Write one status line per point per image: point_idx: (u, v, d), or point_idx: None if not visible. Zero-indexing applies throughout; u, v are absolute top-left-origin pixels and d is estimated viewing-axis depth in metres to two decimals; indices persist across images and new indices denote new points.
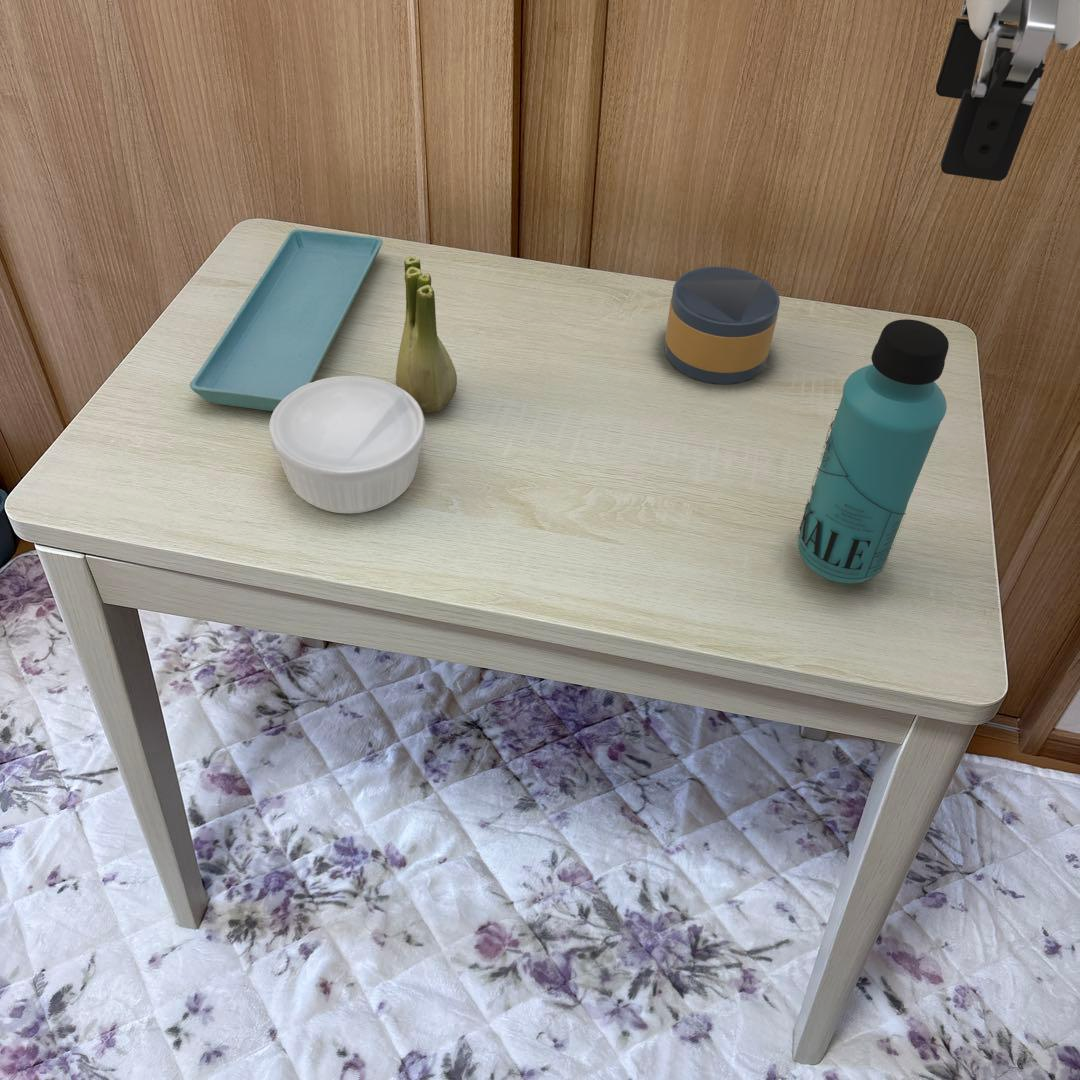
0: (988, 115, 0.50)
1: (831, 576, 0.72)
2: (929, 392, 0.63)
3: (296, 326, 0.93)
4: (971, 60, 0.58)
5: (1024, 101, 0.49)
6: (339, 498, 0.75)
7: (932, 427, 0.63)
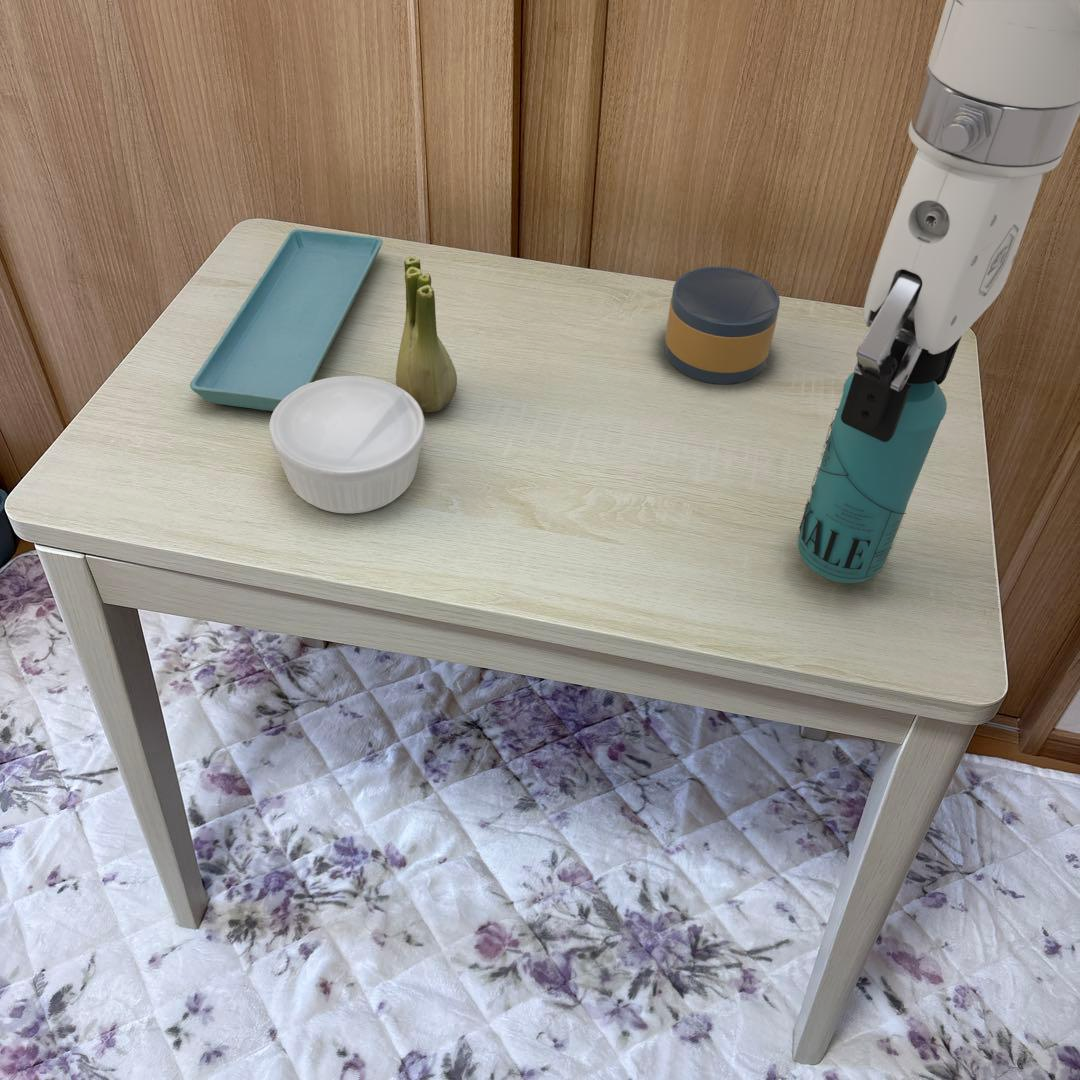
0: (867, 389, 0.60)
1: (831, 576, 0.72)
2: (929, 391, 0.63)
3: (296, 326, 0.93)
4: None
5: (891, 388, 0.59)
6: (339, 498, 0.75)
7: (932, 426, 0.63)
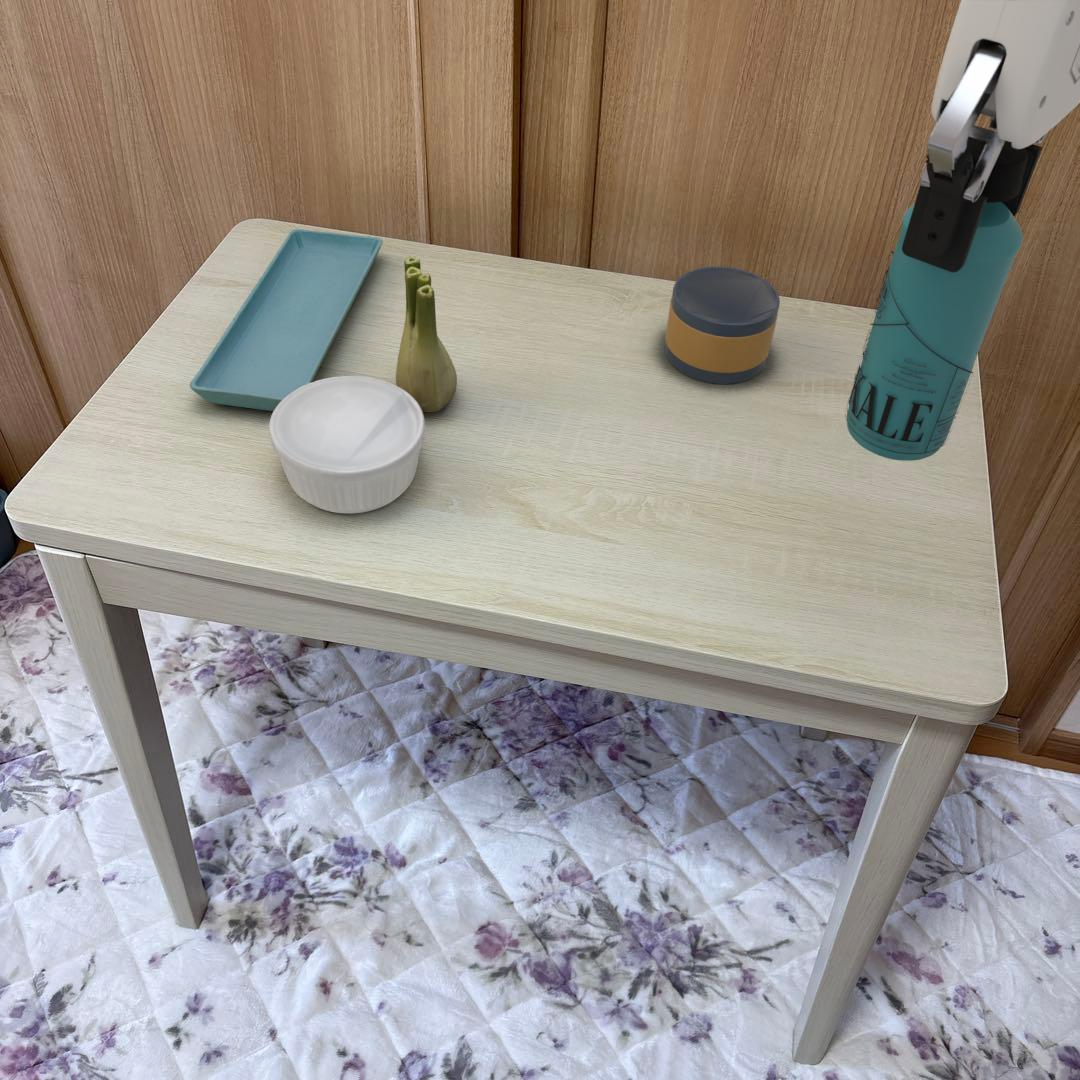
0: (935, 205, 0.52)
1: (886, 452, 0.64)
2: (1003, 217, 0.55)
3: (296, 326, 0.93)
4: None
5: (964, 199, 0.50)
6: (339, 498, 0.75)
7: (1008, 257, 0.55)
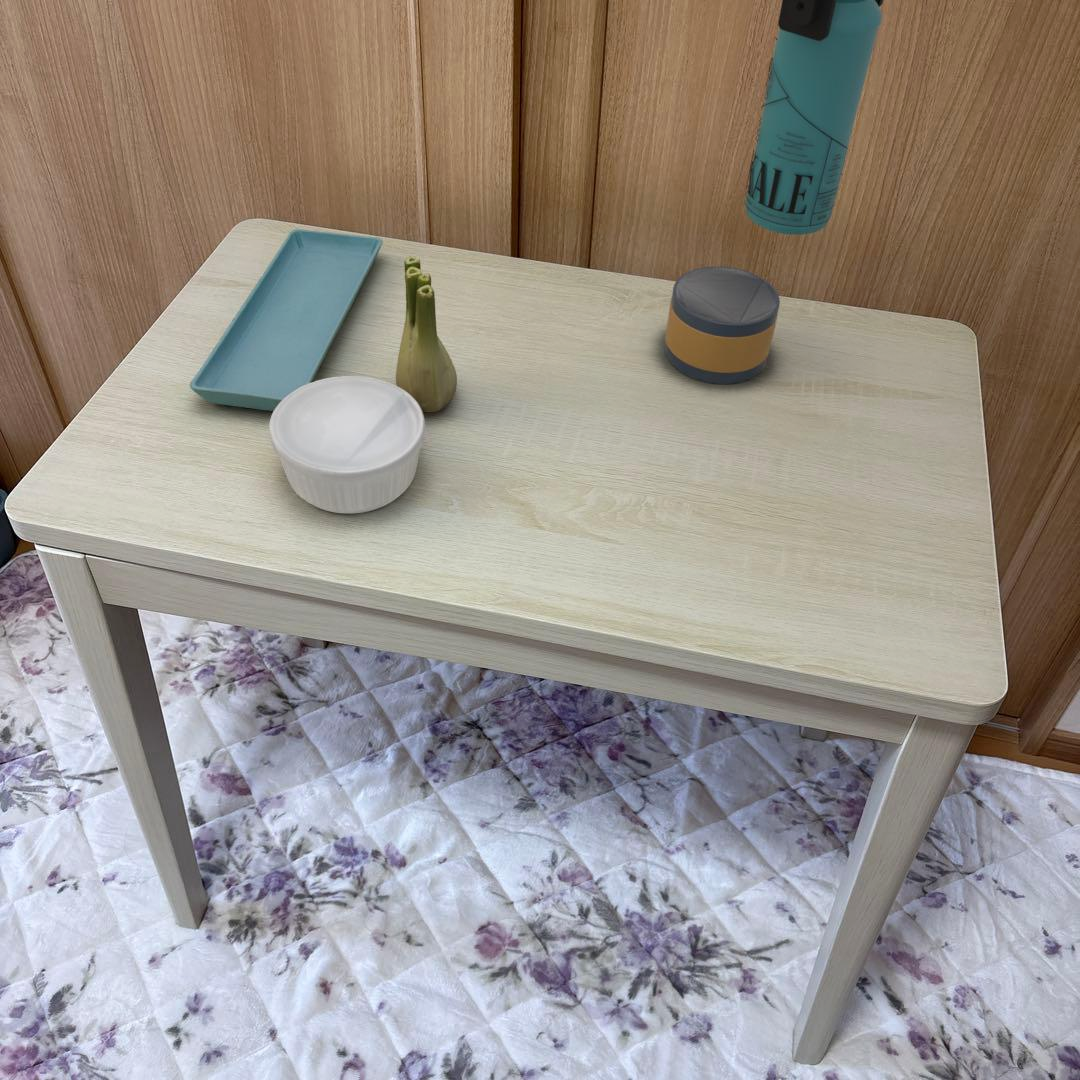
0: None
1: (776, 226, 0.74)
2: None
3: (296, 326, 0.93)
4: None
5: None
6: (339, 498, 0.75)
7: (867, 30, 0.65)
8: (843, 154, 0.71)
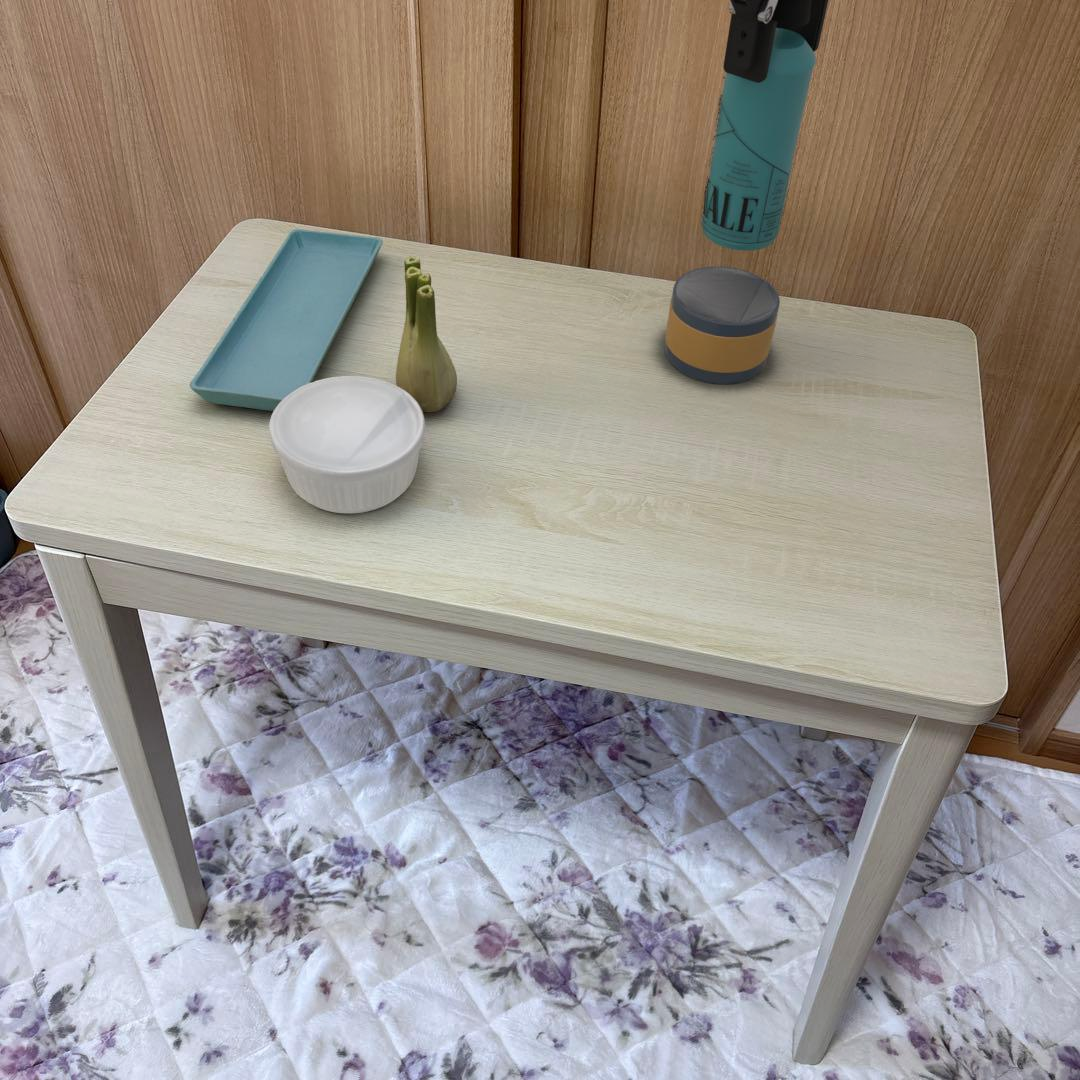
0: (741, 27, 0.71)
1: (728, 243, 0.83)
2: (799, 44, 0.74)
3: (296, 326, 0.93)
4: None
5: (759, 20, 0.69)
6: (339, 498, 0.75)
7: (801, 73, 0.73)
8: (785, 179, 0.80)
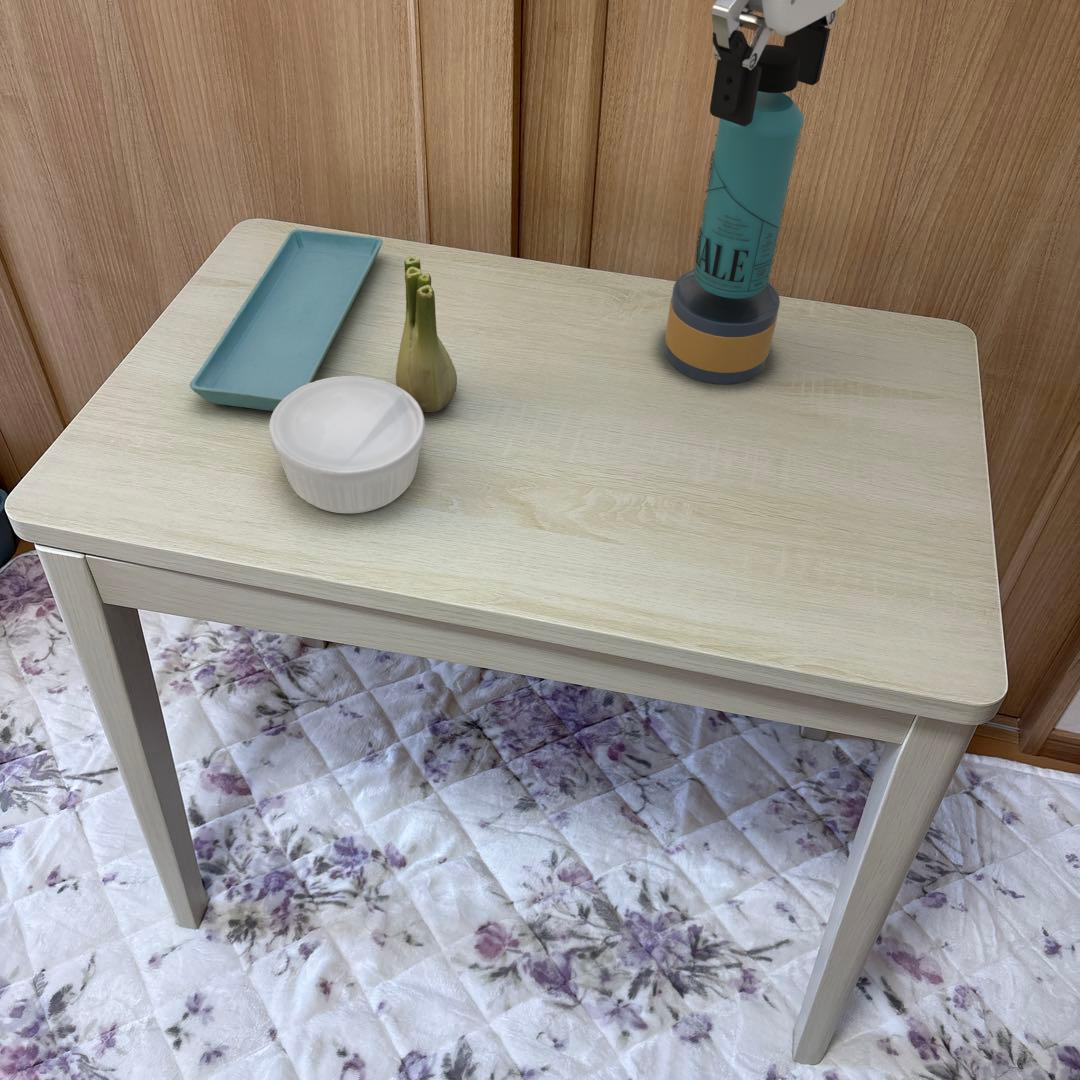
0: (726, 73, 0.72)
1: (720, 291, 0.86)
2: (787, 106, 0.77)
3: (296, 326, 0.93)
4: (798, 50, 0.78)
5: (743, 65, 0.70)
6: (339, 498, 0.75)
7: (789, 134, 0.76)
8: (775, 232, 0.83)
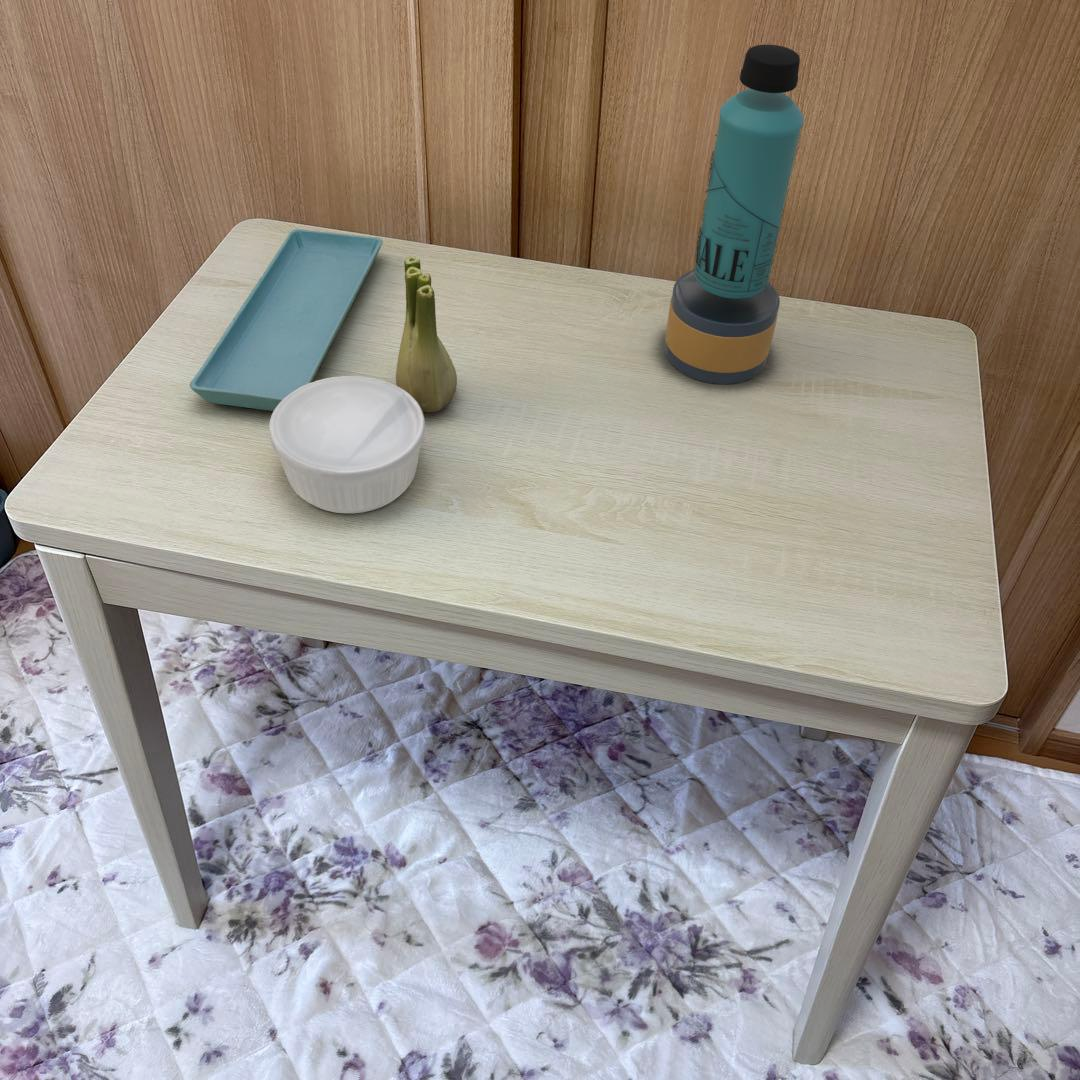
0: None
1: (720, 291, 0.86)
2: (787, 106, 0.77)
3: (296, 326, 0.93)
4: None
5: None
6: (339, 498, 0.75)
7: (789, 134, 0.76)
8: (775, 232, 0.83)
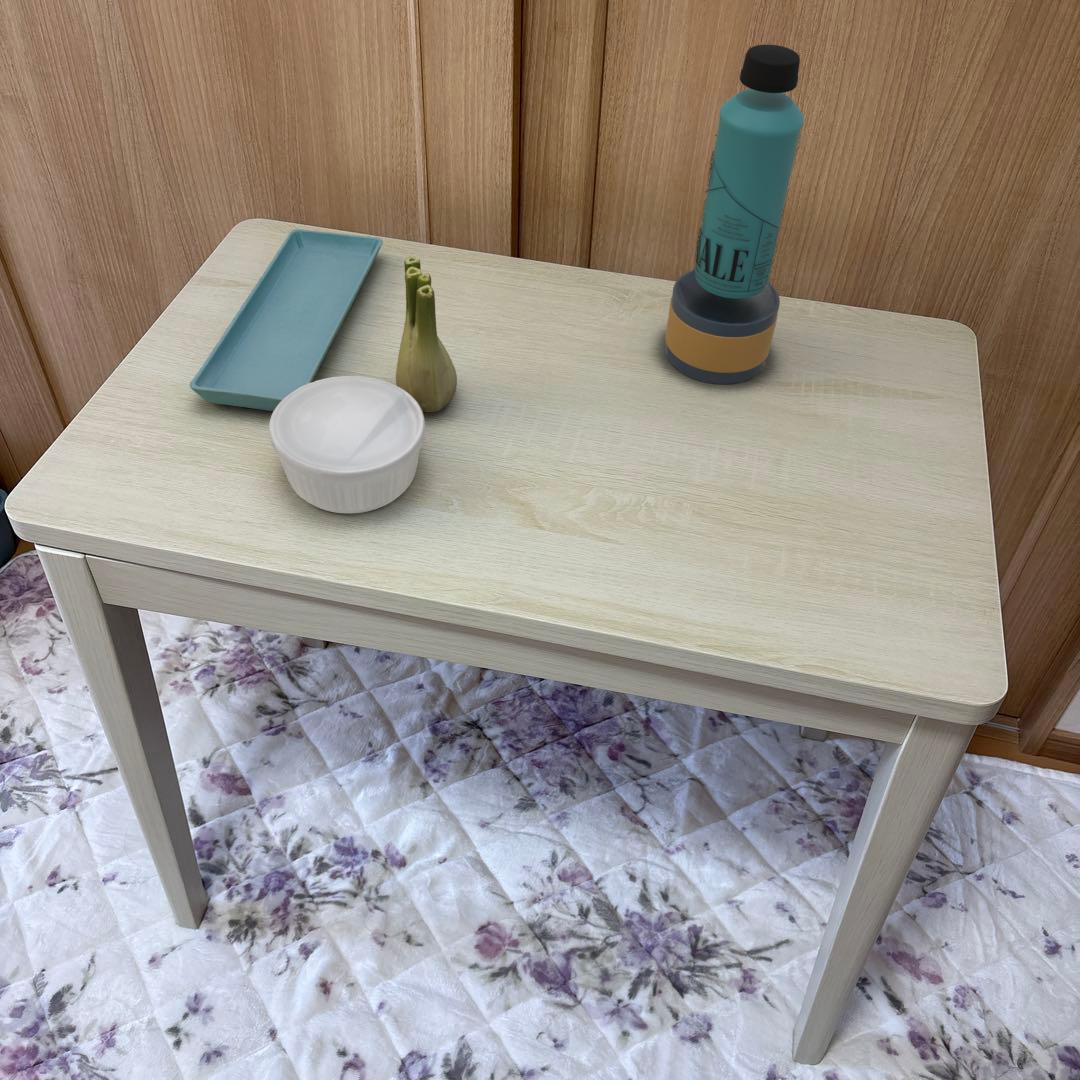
0: None
1: (720, 291, 0.86)
2: (787, 106, 0.77)
3: (296, 326, 0.93)
4: None
5: None
6: (339, 498, 0.75)
7: (789, 134, 0.76)
8: (775, 232, 0.83)
